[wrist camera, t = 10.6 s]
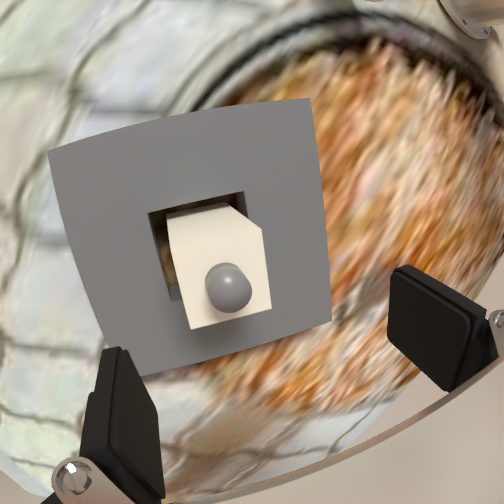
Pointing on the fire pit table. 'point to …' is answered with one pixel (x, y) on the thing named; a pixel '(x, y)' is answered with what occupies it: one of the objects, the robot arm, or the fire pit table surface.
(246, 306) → the plug
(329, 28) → the fire pit table surface
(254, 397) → the fire pit table surface
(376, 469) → the robot arm
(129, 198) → the socket plate
